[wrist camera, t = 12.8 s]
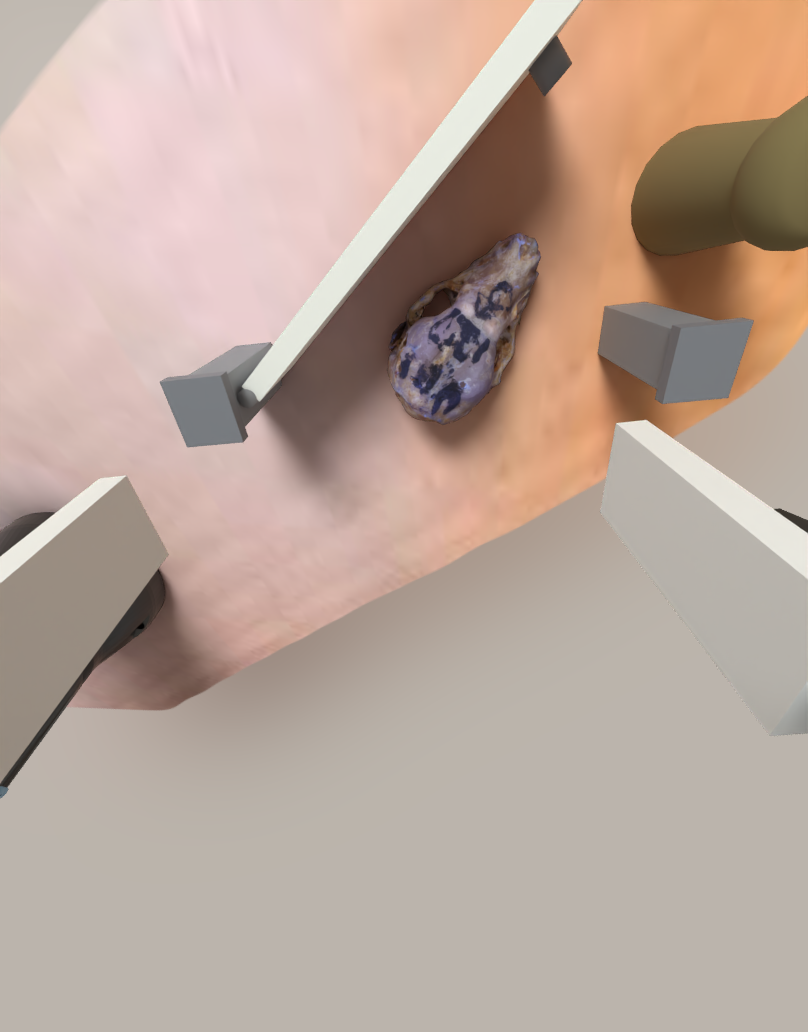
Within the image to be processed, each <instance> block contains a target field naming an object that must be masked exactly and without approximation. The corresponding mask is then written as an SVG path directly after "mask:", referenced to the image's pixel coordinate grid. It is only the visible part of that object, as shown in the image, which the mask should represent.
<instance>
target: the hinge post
mask: <svg viewBox="0 0 808 1032" xmlns="http://www.w3.org/2000/svg"><path fill="white" fill-rule="evenodd" d="M271 347H272V345H271V342H270V343H261V344H251V345H242V346H236V347H234V348H232V349H231V350H229V351H227V352H226V353H224V354H223V355H221V356H219V357H218V358H216V359H214V360H213V361H211V362H209V363H208V364H206V365H204V366H203V367H201V368H199V369H198V370H196V371H194V372H193V373H191V374H189V375H187V376H177V377H167V378H166V379H164V380H162V381H160V384H161V386H162V389H163V391H164V393H165V396H166V398H167V401H168V403H169V405H170V408H171V410H172V412H173V415H174V417H175V419H176V422H177V424H178V427H179V429H180V431H181V434H182V436H183V438H184V441H185V443H186V445H187V447H197V446H207V445H218V444H229V443H240V442H244V441H245V440H246V438H247V437H248V435H247V432H246V429H245V426H246V425H247V424H248V423H249V422H250V421H251V420H252V418H253V417H254V416H255V415H256V414H257V413H258V412H259V411H260V409H261V408H262V407H263V406H264V405H265V404H266V403H267V402H268V400H269V399H270V398H271V397H272V396H273V395H274V394H275V393H276V391H277V390H278V389H279V388H280V387H281V386H282V383H281V380H280V381H279V382H278V383H277V384H276V385H275V386H274V387H273V388H272V389H271V390H270V391H269V392H268V393H267V394H266V396H265V397H264V398H263V399H262V400H261V401H260V402H259V401H258V402H257V403H256V404H255V405H254V406H253V407H251V408H246V407H243V406H242V405H241V404H240V403H239V401H238V398H237V397H238V393H239V392H240V391H241V390H243V389H244V388H242V385H243V384H244V383H245V381H246V380H247V379H248V377H249V376H250V375H251V373H252V372H253V371H254V370H255V368H256V367H257V366H258V364H259V363H260V362H261V360H262V359H263V358H264V356H265V355H266V354H267V352H268V351H269V350H270V348H271Z"/></svg>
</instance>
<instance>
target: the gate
mask: <svg viewBox="0 0 808 1032" xmlns="http://www.w3.org/2000/svg"><path fill="white" fill-rule="evenodd" d="M582 1H583V0H535V1H534V2H533V3H532V5H531V6H530V7H529V9H528V10H527V11H526V13H525V14H524V15H523V16H522V18H521V19H520V20H519V22H518V23H517V24H516V26H515V27H514V28H513V30H512V31H511V32H510V34H509V35H508V36H507V38H506V39H505V40H504V42H503V43H502V44H501V45H500V47H499V48H498V49H497V51H496V52H495V53H494V55H493V56H492V57H491V59H490V60H489V61H488V63H487V64H486V65H485V67H484V68H483V69H482V70H481V72H480V73H479V74H478V76H477V77H476V78H475V80H474V81H473V82H472V84H471V85H470V86H469V88H468V89H467V90H466V92H465V93H464V94H463V96H462V97H461V98H460V99H459V101H458V102H457V103H456V105H455V106H454V107H453V109H452V110H451V111H450V113H449V114H448V115H447V117H446V118H445V119H444V121H443V122H442V123H441V125H440V126H439V127H438V128H437V130H436V131H435V132H434V134H433V135H432V136H431V138H430V139H429V140H428V142H427V143H426V144H425V146H424V147H423V148H422V150H421V151H420V152H419V153H418V155H417V156H416V157H415V159H414V160H413V161H412V163H411V164H410V165H409V167H408V168H407V169H406V171H405V172H404V173H403V175H402V176H401V177H400V179H399V180H398V181H397V182H396V184H395V185H394V186H393V188H392V189H391V190H390V192H389V193H388V194H387V196H386V197H385V198H384V200H383V201H382V202H381V204H380V205H379V206H378V207H377V209H376V210H375V211H374V213H373V214H372V215H371V217H370V218H369V219H368V221H367V222H366V223H365V225H364V226H363V227H362V229H361V230H360V231H359V233H358V234H357V235H356V236H355V238H354V239H353V240H352V242H351V243H350V244H349V246H348V247H347V248H346V250H345V251H344V252H343V254H342V255H341V256H340V258H339V259H338V260H337V262H336V263H335V264H334V265H333V267H332V268H331V269H330V271H329V272H328V273H327V275H326V276H325V277H324V279H323V280H322V281H321V283H320V284H319V285H318V287H317V288H316V289H315V290H314V292H313V293H312V294H311V296H310V297H309V298H308V300H307V301H306V302H305V304H304V305H303V306H302V308H301V309H300V310H299V312H298V313H297V314H296V316H295V317H294V318H293V319H292V321H291V322H290V323H289V325H288V326H287V327H286V329H285V330H284V331H283V333H282V334H281V335H280V337H279V338H278V339H277V341H276V342H275V343H274V345H273V346H272V347H271V348H270V350H269V351H268V352H267V354H266V355H265V356H264V358H263V359H262V360H261V362H260V363H259V364H258V366H257V367H256V368H255V370H254V371H253V372H252V373H251V375H250V376H249V377H248V379H247V380H246V381H245V383H244V384H243V385H242V388H244V389H243V390H241V391H240V392H239V393H238V397H237V398H238V401H239V403H240V404H241V405H242V406H243V407H246V408H251V407H253V406H254V405H255V404H256V403H257V402H258V401H259V402H260V401H261V400H262V399H263V398H264V397H265V396H266V394H267V393H268V392H269V391H270V390H271V389H272V388H273V387H274V386H275V385H276V384H277V383H278V382H279V381H280V380H281V378H282V377H283V376H284V375H285V374H286V373H287V372H288V371H289V370H290V369H291V368H292V367H293V365H294V364H295V363H296V362H297V360H298V359H299V358H300V357H301V355H302V354H303V353H304V352H305V350H306V349H307V348H308V347H309V346H310V344H311V343H312V342H313V341H314V339H315V338H316V337H317V336H318V334H319V333H320V332H321V331H322V329H323V328H324V327H325V326H326V324H327V323H328V322H329V321H330V319H331V318H332V317H333V316H334V315H335V313H336V312H337V311H338V310H339V308H340V307H341V306H342V305H343V303H344V302H345V301H346V300H347V298H348V297H349V296H350V295H351V293H352V292H353V291H354V290H355V289H356V287H357V286H358V285H359V284H360V282H361V281H362V280H363V279H364V277H365V276H366V275H367V274H368V272H369V271H370V270H371V269H372V267H373V266H374V265H375V264H376V262H377V261H378V260H379V259H380V258H381V256H382V255H383V254H384V253H385V251H386V250H387V249H388V248H389V246H390V245H391V244H392V243H393V241H394V240H395V239H396V238H397V236H398V235H399V234H400V233H401V231H402V230H403V229H404V228H405V227H406V225H407V224H408V223H409V222H410V220H411V219H412V218H413V217H414V215H415V214H416V213H417V212H418V210H419V209H420V208H421V207H422V205H423V204H424V203H425V202H426V200H427V199H428V198H429V197H430V196H431V194H432V193H433V192H434V191H435V189H436V188H437V187H438V186H439V184H440V183H441V182H442V181H443V179H444V178H445V177H446V176H447V174H448V173H449V172H450V171H451V169H452V168H453V167H454V166H455V165H456V163H457V162H458V161H459V160H460V158H461V157H462V156H463V155H464V153H465V152H466V151H467V150H468V148H469V147H470V146H471V145H472V143H473V142H474V141H475V140H476V138H477V137H478V136H479V135H480V134H481V132H482V131H483V130H484V129H485V127H486V126H487V125H488V124H489V122H490V121H491V120H492V119H493V117H494V116H495V115H496V114H497V112H498V111H499V110H500V109H501V107H502V106H503V105H504V104H505V103H506V101H507V100H508V99H509V98H510V96H511V95H512V94H513V93H514V91H515V90H516V89H517V88H518V86H519V85H520V84H521V83H522V81H523V80H524V79H525V78H526V76H527V75H528V74H529V73H530V74H531V76H532V77H533V79H534V81H535V82H536V84H537V86H538V87H539V89H540V91H541V92H542V94H543V96H545V95H546V94H547V93H548V92H549V90H550V89H551V88H552V87H553V86H554V85H555V83H556V82H557V81H558V80H559V79H560V78H561V76H562V75H563V74H564V73H565V72H566V70H567V69H568V68H569V67H570V66H571V64H572V62H571V60H570V58H569V57H568V55H567V53H566V51H565V49H564V48H563V46H562V44H561V42H560V40H559V39H558V37H557V36H558V34H559V33H560V31H561V30H562V29H563V27H564V26H565V24H566V23H567V22H568V20H569V19H570V17H571V16H572V15H573V13H574V12H575V10H576V9H577V8H578V6H579V5H580V3H581V2H582Z"/></svg>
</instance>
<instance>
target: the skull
mask: <svg viewBox="0 0 808 1032" xmlns="http://www.w3.org/2000/svg"><path fill="white" fill-rule="evenodd" d="M540 258H541V256H540V252H539V250H538V245H537V242H536V240H535V239H534V238H529V237H528V236H526V235H524V234H523V233H518V234H515V235H511V236H509V237H508V238H506V239H505V240H504V241H503V242H502V241H499V242H498V243H496V245H495V246H494V247H493V248H492V249H491V250H490V251H489V252H488V253H487V254H486V255H484V256H482V257H481V258H479V259H477V260H475V261H474V262H473V263H472V264H471V265H470V267H469V268H468V269H466V270H465V271H463V272H461V273H459V274H458V276H457V277H455V278H453V279H450V280H446V281H442V282H440V283H438V284H435V285H434V286H432V287H431V288H430V289H429V290H427V291H426V292H425V293H424V294H423V295H422V296H421V297H420V299H419V300H418V301H417V302H416V303H415V304H413V305H412V306H411V307H410V309H409V310H408V313H407V316H406V321H405V322H404V323H402V324H400V325H399V327H398V328H397V329H396V330H395V331H394V332H393V334H392V339H391V342H390V344H389V349H390V350H391V351H392V352H391V354H390V356H389V359H388V368H387V371H388V376H389V378H390V380H391V385H392V387H393V389H394V390H395V393H396V396H397V397H398V399H399V401H401V403H402V405H403V407H404V409H405V411H406V412H407V413H408V414H409V415H410V416H412V417H413V418H415V419H418V420H423V421H433V422H437V423H440V424H442V425H445V424H447V423H450V422H454V421H457V420H459V419H460V418H461V417H463V416H465V415H467V414H468V413H469V412H470V411H471V410H472V408H473V407H474V406H476V405H477V404H478V403H479V402H480V401H481V400H482V399H483V398H484V397H485V395H486V394H488V393H489V391H490V390H491V389H492V388H493V387H495V386H497V385H499V383H500V382H501V375H502V372H503V371H504V369H505V367H506V366H507V364H508V363H509V362H510V360H511V359H512V357H513V355H514V350H515V331H516V326H517V324H519V323H520V320H521V314H522V312H523V310H524V308H525V307H526V304H527V300H528V297H529V294H530V290H531V288H532V286H533V284H534V282H535V280H536V278H537V276H538V273H537V272H536V268H537V266H538V263H539V261H540ZM442 290H443V291H445V293H446V294H447V295H448V298H449V299H450V304H451V307H450V308H448V309H446V310H445V311H444V312H442V313H441V314H439V315H437V316H429V317H422V314H423V312H424V306H427V305H428V304H430V303H431V301H432V299H433V297H434V295H435V294H436V293H438V292H440V291H442ZM494 364H495V366H494Z"/></svg>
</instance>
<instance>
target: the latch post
mask: <svg viewBox="0 0 808 1032" xmlns="http://www.w3.org/2000/svg"><path fill="white" fill-rule="evenodd" d="M753 322H754V320H750V319H745V318H735V319H726V320H716V321H715V320H712V319H708V318H704V317H700V316H697V315H693V314H689V313H685V312H681V311H678V310H674V309H670V308H666V307H663V306H659V305H655V304H651V303H648V302H640V303H631V304H621V305H612V306H605V308H604V315H603V322H602V329H601V335H600V342H599V349H598V354H599V355H601V356H603V357H604V358H606V359H608V360H609V361H611V362H613V363H614V364H616V365H617V366H619V367H621V368H622V369H624V370H626V371H627V372H629V373H631V374H632V375H634V376H636V377H637V378H639V379H640V380H642V381H644V382H645V383H647V384H649V385H650V386H652V387H654V388H655V389H657V392H656V396H655V399H656V400H657V401H659V402H660V403H662V404H667V403H678V402H689V401H700V400H711V399H722V398H728V397H729V394H730V391H731V388H732V385H733V382H734V379H735V376H736V373H737V370H738V367H739V364H740V361H741V358H742V355H743V352H744V349H745V346H746V343H747V340H748V337H749V334H750V331H751V328H752V325H753Z"/></svg>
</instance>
